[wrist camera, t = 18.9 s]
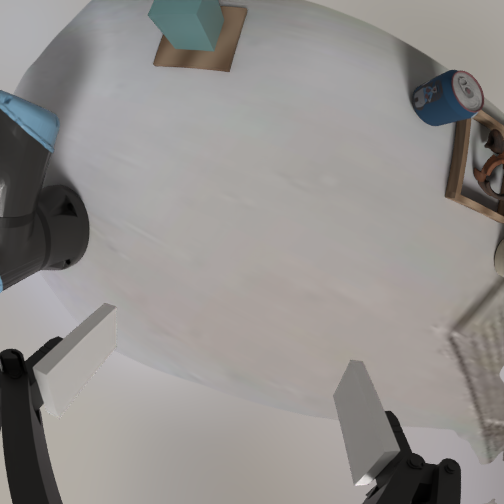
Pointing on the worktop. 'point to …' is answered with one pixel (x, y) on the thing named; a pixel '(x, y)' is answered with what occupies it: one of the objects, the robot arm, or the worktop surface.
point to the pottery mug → (491, 162)
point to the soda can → (448, 98)
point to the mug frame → (460, 164)
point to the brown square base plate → (207, 59)
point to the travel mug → (500, 259)
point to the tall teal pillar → (189, 22)
